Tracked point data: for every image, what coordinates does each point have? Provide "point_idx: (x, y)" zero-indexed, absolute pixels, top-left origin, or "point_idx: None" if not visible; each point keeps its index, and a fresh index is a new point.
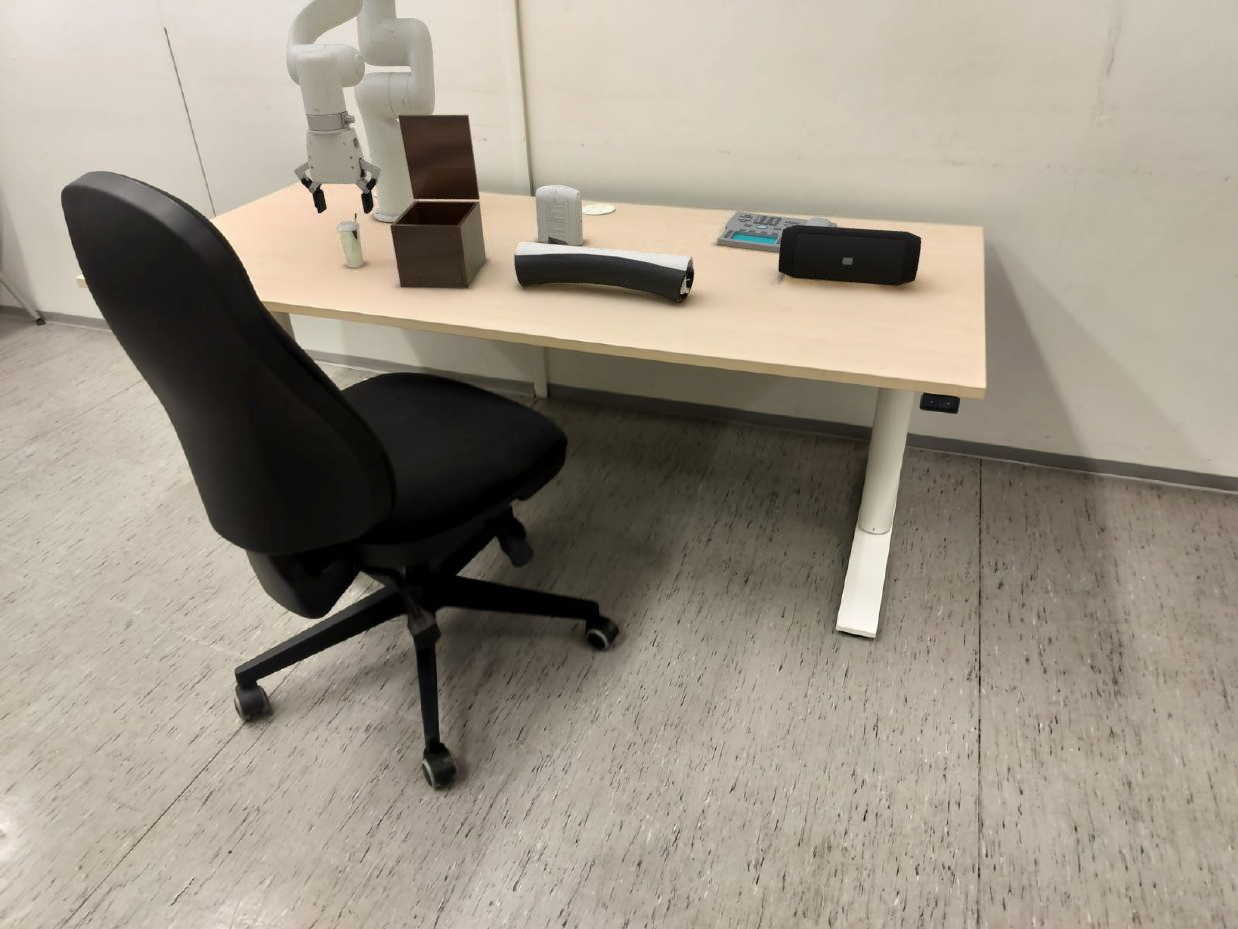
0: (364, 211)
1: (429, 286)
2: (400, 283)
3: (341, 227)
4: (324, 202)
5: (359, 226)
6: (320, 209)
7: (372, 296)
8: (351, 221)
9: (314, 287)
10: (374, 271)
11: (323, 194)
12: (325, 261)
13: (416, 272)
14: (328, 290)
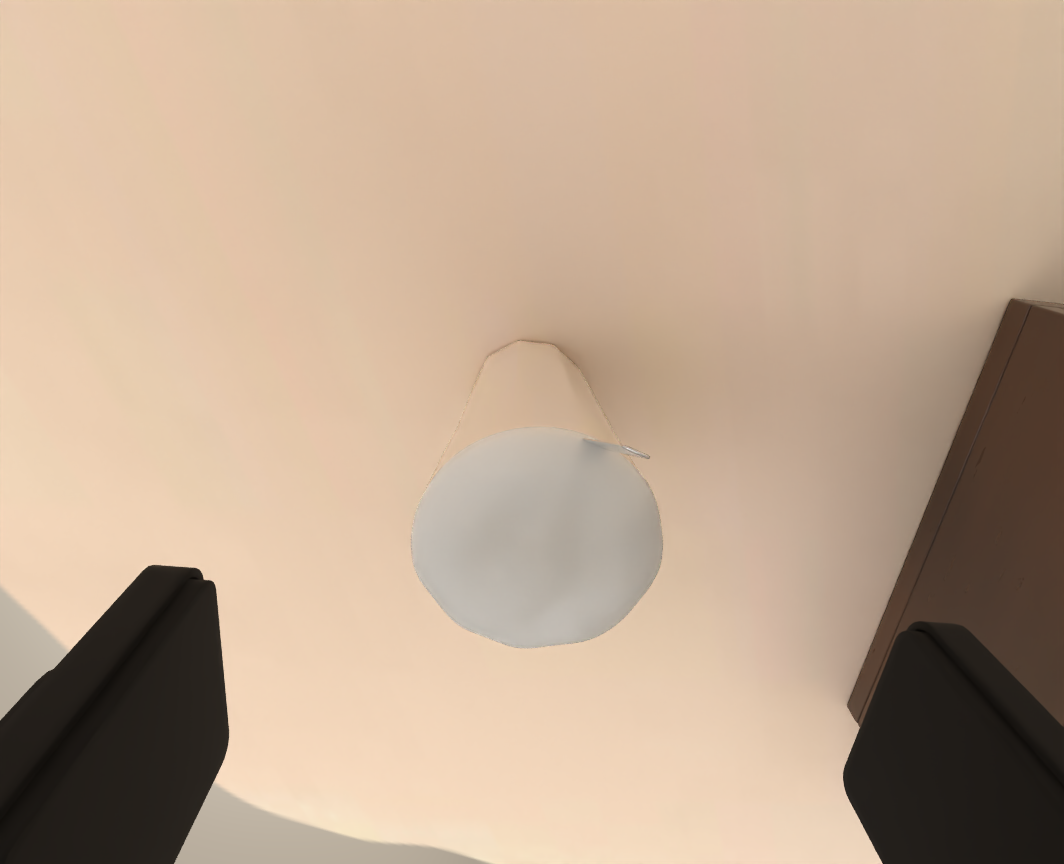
0: (861, 807)
1: None
2: (857, 721)
3: (496, 640)
4: (161, 693)
5: (660, 522)
6: (206, 791)
7: (713, 787)
8: (569, 496)
9: (386, 695)
10: (678, 504)
11: (68, 806)
12: (274, 305)
13: None
14: (476, 728)
